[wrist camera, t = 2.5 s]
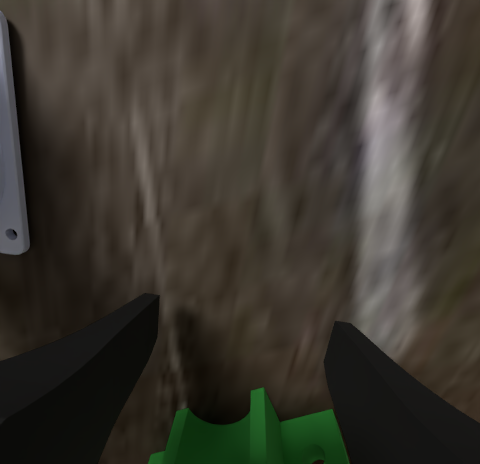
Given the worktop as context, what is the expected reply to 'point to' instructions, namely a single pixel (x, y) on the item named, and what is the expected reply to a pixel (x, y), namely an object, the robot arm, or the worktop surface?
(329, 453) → the pipe clamp
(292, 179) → the worktop surface
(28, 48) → the worktop surface
